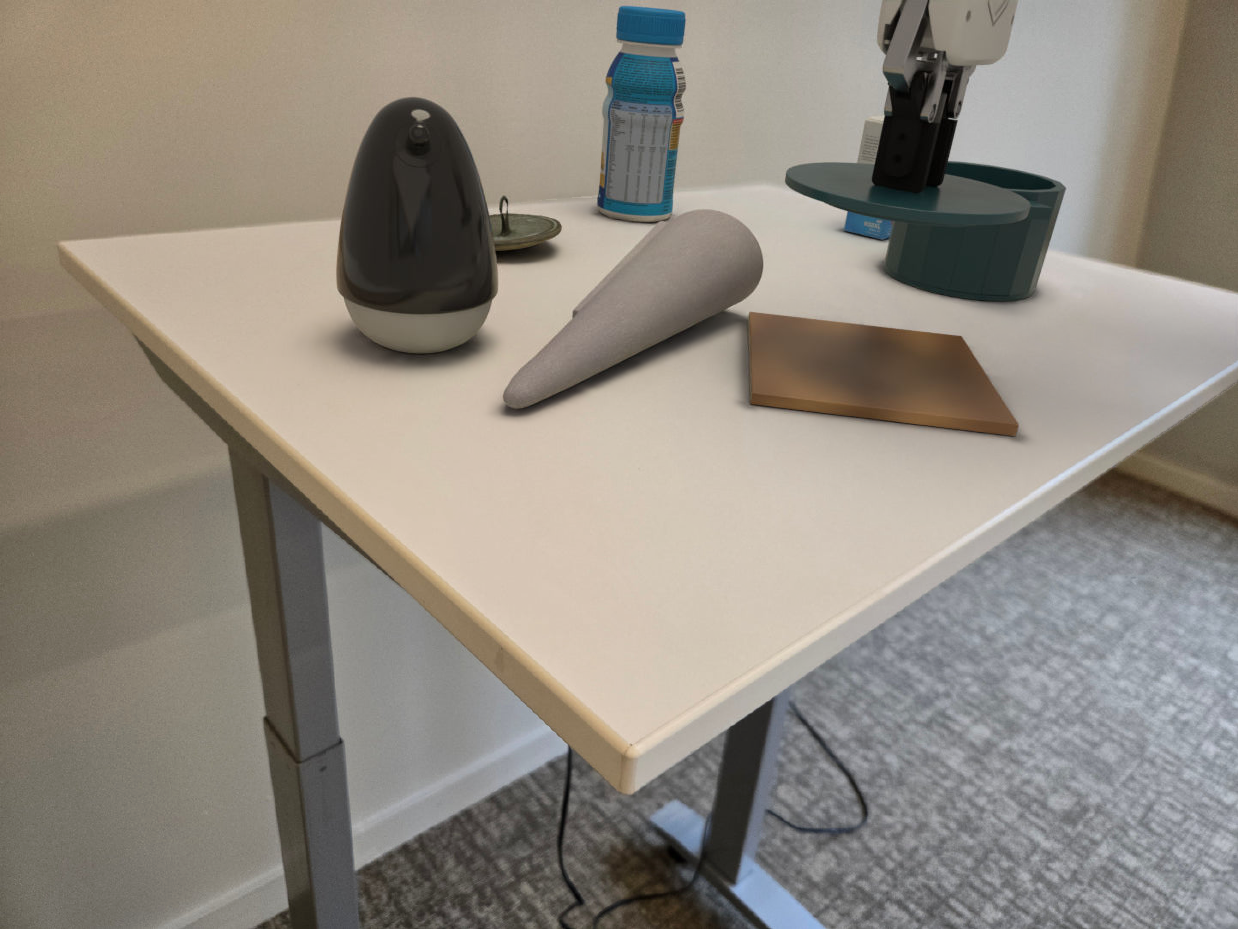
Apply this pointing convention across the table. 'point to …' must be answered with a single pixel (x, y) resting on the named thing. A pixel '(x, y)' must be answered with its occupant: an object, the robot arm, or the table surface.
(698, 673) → the table surface
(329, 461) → the table surface
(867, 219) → the ink box
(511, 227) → the lid
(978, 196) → the pot lid
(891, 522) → the table surface
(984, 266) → the pot
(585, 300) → the grey cone
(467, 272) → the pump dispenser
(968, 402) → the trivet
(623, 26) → the beverage bottle
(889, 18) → the robot arm
